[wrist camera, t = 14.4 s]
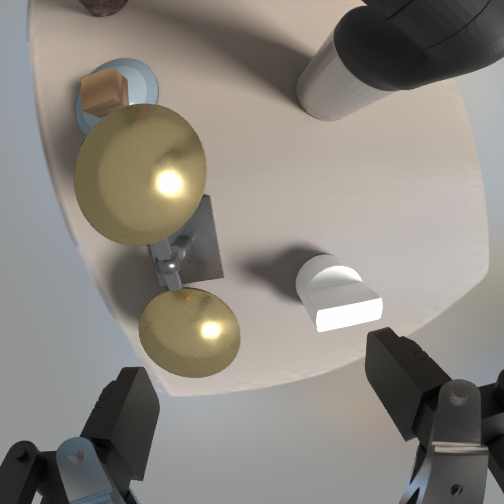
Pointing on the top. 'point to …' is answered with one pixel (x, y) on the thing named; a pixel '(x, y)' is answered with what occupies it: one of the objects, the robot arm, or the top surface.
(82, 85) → the walnut block
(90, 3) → the candle
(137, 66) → the dish
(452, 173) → the top surface
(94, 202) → the balance
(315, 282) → the cylinder with rectangular tab
